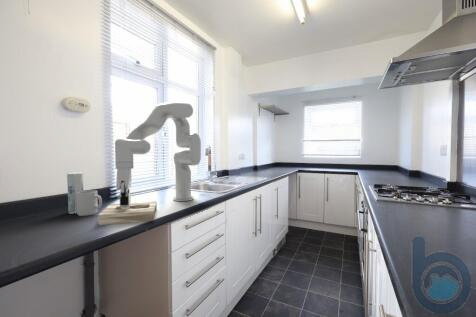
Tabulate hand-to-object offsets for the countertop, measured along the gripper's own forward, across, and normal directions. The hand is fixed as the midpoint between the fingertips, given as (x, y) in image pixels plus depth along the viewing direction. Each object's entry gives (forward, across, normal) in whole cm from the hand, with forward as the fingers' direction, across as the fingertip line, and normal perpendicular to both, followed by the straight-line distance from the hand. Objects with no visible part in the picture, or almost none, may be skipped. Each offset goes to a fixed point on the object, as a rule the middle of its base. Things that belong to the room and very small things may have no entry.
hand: (125, 203), depth 102 cm
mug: (+7, -11, -18) cm, 22 cm away
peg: (+6, 0, 0) cm, 6 cm away
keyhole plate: (+6, 0, +2) cm, 7 cm away
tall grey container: (+7, -16, -26) cm, 31 cm away
